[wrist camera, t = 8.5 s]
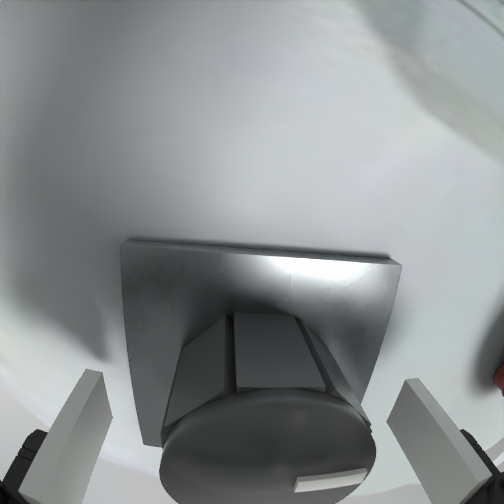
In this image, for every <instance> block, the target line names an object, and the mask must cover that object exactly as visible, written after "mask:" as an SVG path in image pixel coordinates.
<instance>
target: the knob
mask: <svg viewBox="0 0 504 504" xmlns="http://www.w3.org/2000/svg"><path fill="white" fill-rule="evenodd" d="M370 426H371V423H370V421H369V419H368V418H367V416H366V414H365V412H364V410H363V409H362V407H361V405H360V403H359V401H358V400H357V398H356V396H355V394H354V393H353V391H352V389H351V387H350V385H349V384H348V382H347V380H346V378H345V377H344V375H343V373H342V371H341V369H340V368H339V366H338V364H337V362H336V361H335V359H334V357H333V355H332V354H331V352H330V351H329V350H328V349H327V348H326V347H325V346H324V344H323V343H322V342H321V341H320V340H319V339H318V338H317V337H316V335H315V334H314V333H313V332H312V331H311V330H310V329H309V327H308V326H307V325H306V324H305V323H304V322H303V321H302V320H301V318H300V319H299V320H298V321H297V322H296V320H295V318H294V316H293V315H275V314H254V313H237V312H234V316H233V322H232V321H231V320H230V319H229V318H228V317H227V316H226V315H225V316H223V317H222V318H221V319H219V320H218V321H217V322H216V323H214V324H213V325H212V326H211V327H209V328H208V329H207V330H205V331H204V332H203V333H202V334H200V335H199V336H198V337H196V338H195V339H194V340H192V341H191V342H190V343H189V344H187V345H186V346H185V347H183V349H182V353H181V354H180V355H179V359H178V363H177V367H176V371H175V375H174V379H173V383H172V387H171V391H170V395H169V399H168V403H167V407H166V412H165V416H164V420H163V424H162V429H161V433H160V435H161V442H162V448H163V453H162V459H161V464H160V469H159V474H160V480H161V483H162V485H163V487H164V489H165V490H166V492H167V493H168V494H169V495H170V496H171V497H172V498H173V499H174V500H175V501H176V502H177V503H179V504H335V503H337V502H339V501H340V500H342V499H344V498H345V497H346V496H348V495H349V494H350V493H352V492H353V491H354V490H355V489H356V488H357V487H358V486H359V485H360V484H361V483H362V482H363V481H364V480H365V479H366V477H367V476H368V474H369V473H370V471H371V469H372V467H373V465H374V462H375V458H376V446H375V442H374V440H373V438H372V436H371V432H372V430H371V428H370Z"/></svg>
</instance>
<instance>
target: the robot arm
mask: <svg viewBox="0 0 504 504" xmlns="http://www.w3.org/2000/svg"><path fill="white" fill-rule="evenodd" d="M112 418H113V417H112V413H111V409H110V405H109V401H108V396H107V392H106V388H105V383H104V378H103V373H102V372H99V371H94V370H89V369H86V370H85V371H84V373H83V375H82V376H81V378H80V379H79V381H78V383H77V384H76V386H75V388H74V389H73V391H72V393H71V394H70V396H69V398H68V399H67V401H66V403H65V404H64V406H63V408H62V409H61V411H60V413H59V415H58V416H57V418H56V420H55V422H54V423H53V425H52V427H51V429H50V430H49V432H48V433H47V432H44V431H42V430H39V429H37V430H35V431H34V432H33V433H31V434H30V435H29V436H28V437H27V438H26V440H25V442H24V443H23V445H22V448H21V449H20V450H19V452H18V456H16V457H15V459H14V461H13V463H12V464H11V466H10V468H9V470H8V472H7V474H6V475H5V477H4V479H3V481H1V480H0V504H82V500H83V498H84V495H85V491H86V489H87V486H88V483H89V480H90V477H91V474H92V471H93V468H94V466H95V463H96V460H97V458H98V455H99V452H100V449H101V447H102V444H103V442H104V439H105V436H106V434H107V431H108V429H109V426H110V423H111V421H112ZM387 423H388V425H389V427H390V428H391V430H392V432H393V434H394V436H395V437H396V439H397V441H398V443H399V444H400V446H401V448H402V450H403V451H404V453H405V455H406V457H407V459H408V460H409V462H410V464H411V466H412V468H413V469H414V471H415V473H416V475H417V477H418V479H419V480H420V482H421V484H422V486H423V488H424V490H425V491H426V493H427V495H428V497H429V499H430V501H431V503H432V504H504V472H502V473H501V472H500V471H499V470H498V469H497V468H496V466H495V465H494V464H493V462H492V461H491V460H490V458H489V457H488V456H487V454H486V453H485V452H484V450H482V448H481V446H480V445H479V444H477V441H476V440H475V439H474V437H473V436H472V435H471V434H469V433H468V432H467V431H465V430H464V429H462V430H459V429H458V428H457V426H456V425H455V424H454V423H453V421H452V420H451V419H450V417H449V416H448V415H447V414H446V412H445V411H444V410H443V408H442V407H441V406H440V405H439V403H438V402H437V401H436V400H435V398H434V397H433V396H432V395H431V393H430V392H429V391H428V390H427V388H426V387H425V386H424V385H423V383H422V382H421V381H420V380H419V379H418V378H414V379H407V380H405V382H404V384H403V386H402V389H401V391H400V393H399V396H398V398H397V400H396V402H395V405H394V407H393V409H392V411H391V413H390V415H389V417H388V419H387Z"/></svg>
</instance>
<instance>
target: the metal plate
mask: <svg viewBox="0 0 504 504" xmlns="http://www.w3.org/2000/svg"><path fill="white" fill-rule="evenodd" d="M401 269H402V265H401V264H399V263H397V262H396V261H394V260H393V259H383V258H370V257H357V256H344V255H331V254H317V253H304V252H291V251H277V250H264V249H251V248H237V247H223V246H210V245H196V244H182V243H168V242H154V241H140V240H127V241H126V242H124V243H123V244H122V245H121V277H122V296H123V310H124V322H125V333H126V342H127V351H128V359H129V366H130V374H131V380H132V387H133V393H134V399H135V405H136V410H137V415H138V420H139V425H140V430H141V435H142V439H143V444H144V445H148V446H155V447H162V442H161V435H160V433H161V429H162V424H163V420H164V416H165V412H166V407H167V403H168V399H169V395H170V391H171V387H172V383H173V379H174V375H175V371H176V367H177V363H178V359H179V355H180V354H181V353H182V349H183V347H185V346H186V345H187V344H189V343H190V342H191V341H192V340H194V339H195V338H196V337H198V336H199V335H200V334H202V333H203V332H204V331H205V330H207V329H208V328H209V327H211V326H212V325H213V324H214V323H216V322H217V321H218V320H219V319H221V318H222V317H223V316H225V315H226V316H227V317H228V318H229V319H230V320H231V321H232V322H233V316H234V312H237V313H254V314H275V315H293V316H294V318H295V320H296V322H297V321H298V320H299V319H300V318H301V320H302V321H303V322H304V323H305V324H306V325H307V326H308V327H309V329H310V330H311V331H312V332H313V333H314V334H315V335H316V337H317V338H318V339H319V340H320V341H321V342H322V343H323V344H324V346H325V347H326V348H327V349H328V350H329V351H330V352H331V354H332V355H333V357H334V359H335V361H336V362H337V364H338V366H339V368H340V369H341V371H342V373H343V375H344V377H345V378H346V380H347V382H348V384H349V385H350V387H351V389H352V391H353V393H354V394H355V396H356V398H357V400H358V401H359V403H360V405H361V402H362V400H363V397H364V394H365V392H366V389H367V386H368V384H369V381H370V378H371V375H372V372H373V369H374V366H375V363H376V360H377V357H378V354H379V351H380V348H381V345H382V342H383V338H384V335H385V332H386V328H387V325H388V321H389V318H390V314H391V310H392V307H393V303H394V299H395V295H396V291H397V287H398V282H399V278H400V274H401Z"/></svg>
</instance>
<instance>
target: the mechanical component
mask: <svg viewBox="0 0 504 504" xmlns="http://www.w3.org/2000/svg"><path fill="white" fill-rule="evenodd" d="M493 382H494V383H495V384H496V385H497V386H498V387H499V388H500V389H501V390H502V395H503V396H504V363H503V364H502V365H501V367H500V368H499V369H498V370H497V371H496V373H495V375H494V377H493Z"/></svg>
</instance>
